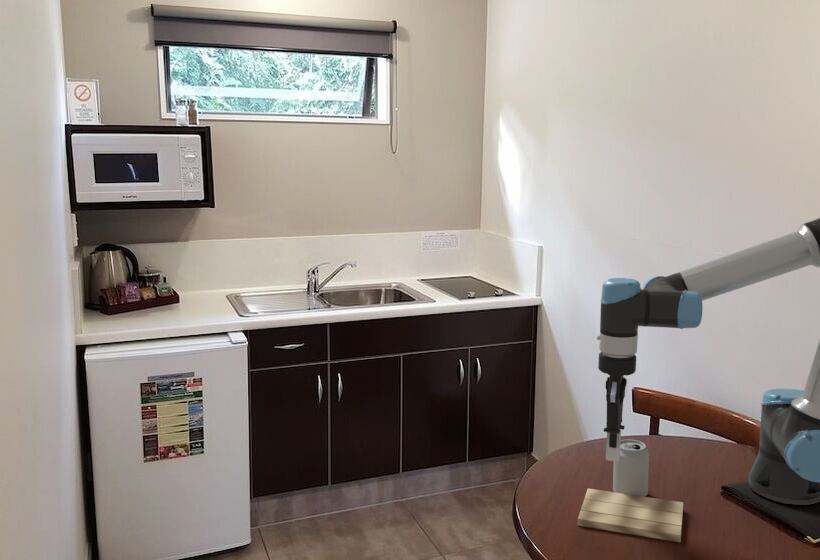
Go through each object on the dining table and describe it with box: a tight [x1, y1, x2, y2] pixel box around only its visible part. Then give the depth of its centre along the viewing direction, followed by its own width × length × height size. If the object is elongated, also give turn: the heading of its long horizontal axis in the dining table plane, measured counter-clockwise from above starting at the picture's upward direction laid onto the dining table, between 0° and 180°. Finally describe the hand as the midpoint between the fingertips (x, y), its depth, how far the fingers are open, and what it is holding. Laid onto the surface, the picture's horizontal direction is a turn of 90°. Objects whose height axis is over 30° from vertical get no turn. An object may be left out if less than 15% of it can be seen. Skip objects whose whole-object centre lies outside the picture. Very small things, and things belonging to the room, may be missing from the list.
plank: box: [580, 488, 684, 531], centre depth 155 cm, size 20×10×2 cm, turn 68°
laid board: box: [577, 509, 683, 543], centre depth 148 cm, size 20×4×2 cm, turn 68°
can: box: [612, 438, 650, 497], centre depth 162 cm, size 8×8×12 cm
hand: (612, 459), depth 155 cm, fingers closed
